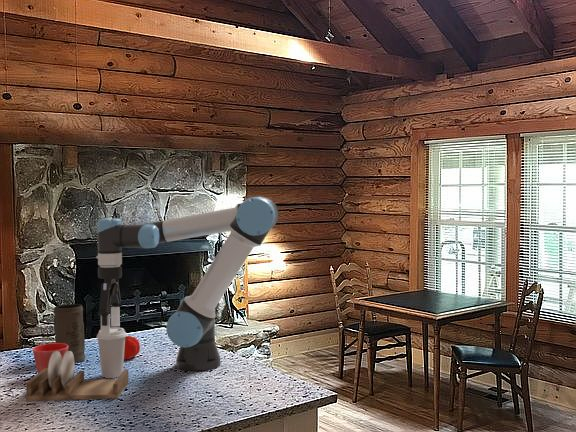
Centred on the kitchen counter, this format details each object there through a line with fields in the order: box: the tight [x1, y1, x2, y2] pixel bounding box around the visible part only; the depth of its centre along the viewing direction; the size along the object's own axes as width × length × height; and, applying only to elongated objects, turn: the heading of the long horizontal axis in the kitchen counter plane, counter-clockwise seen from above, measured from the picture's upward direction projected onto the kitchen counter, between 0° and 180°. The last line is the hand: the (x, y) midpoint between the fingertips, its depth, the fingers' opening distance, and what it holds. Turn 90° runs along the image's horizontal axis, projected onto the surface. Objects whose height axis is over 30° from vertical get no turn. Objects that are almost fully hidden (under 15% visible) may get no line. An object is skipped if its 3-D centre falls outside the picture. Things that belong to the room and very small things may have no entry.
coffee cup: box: [96, 326, 128, 379], centre depth 205 cm, size 10×10×15 cm
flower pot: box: [32, 342, 69, 374], centre depth 205 cm, size 11×11×10 cm
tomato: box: [124, 335, 141, 360], centre depth 227 cm, size 9×9×8 cm
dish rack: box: [25, 351, 130, 402], centre depth 189 cm, size 26×15×12 cm, turn 92°
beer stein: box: [53, 303, 86, 364], centre depth 226 cm, size 15×11×20 cm
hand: (110, 330), depth 205 cm, fingers open, 13 cm apart
